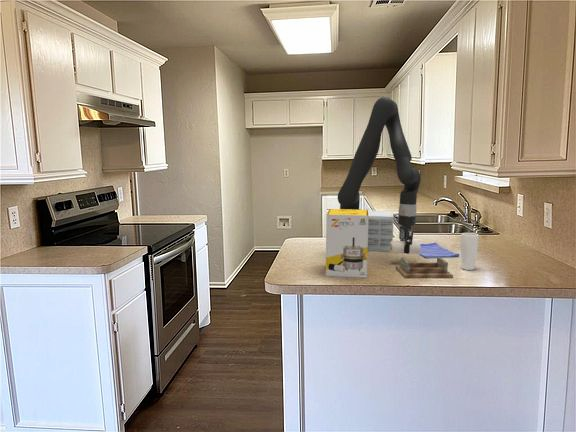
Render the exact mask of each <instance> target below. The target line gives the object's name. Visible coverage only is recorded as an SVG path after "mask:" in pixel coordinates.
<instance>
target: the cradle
mask: <svg viewBox="0 0 576 432" xmlns="http://www.w3.org/2000/svg"><path fill="white" fill-rule="evenodd" d="M448 267H449V262H448V261H446V260H445V258H441V257H437V258H436V262H410V261H409V260H408V259H407V258H406V257H404V256H401V257H400V265H395V269H396V271H397V272H399V274H400V275H401V276H402V277H403V278H404V279H453V278H454V274H452V273H451V272H450V271H448Z"/></svg>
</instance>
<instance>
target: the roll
mask: <svg viewBox="0 0 576 432" xmlns="http://www.w3.org/2000/svg"><path fill="white" fill-rule="evenodd" d="M408 242H409V240H408ZM420 244H421V242H420V241H418V240H415V241H414V240H412V245H410V251H409V254H410V255H411V254H414V255H415V254H416V255H417V254H418V255H419V253H420V248H421V247H420ZM389 253H391V254H405V253H404V241H400V240H393V241H391V242H390V252H389Z"/></svg>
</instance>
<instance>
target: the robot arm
mask: <svg viewBox="0 0 576 432" xmlns="http://www.w3.org/2000/svg"><path fill="white" fill-rule="evenodd" d="M385 127H386V129H387V132H388V136H389V137H388V138H389V145H390V149H391V153H392V155H393V158H394V161H395V164H396V165H395V166H396V168H395V169H396V173H397V178H398V180H399V182H400V183H401V184H403V189H402V190H401V192H400V194H399V203H398V205H399V206H398V213H397V214H398V215H397V224H398V225H399V226H398V227H399V235H398V237H399V239H398V240H399V241H404V253H403V254H404V255H405V254H407V255H408V254H409V251H410V245H412V241H413V239H414V238H413V237H414V231H413V230H412V226H415V225H416V221H417V219H416V218H417V198H418V196H417V195H418V192H419V188H420V184H421V177H422V176H421V172H420V170H418V169H417V168H415V167H412V164H411V161H412V159H413V158H412V157H413V156H412V153H411V151H410V147H409V145H408V142H407V140H406V138H405V134H404V131H403V128H402V127H403V126H402V124H401V119H400V112H399V107H398V104H397V103H396V101H394V100H393V99H392V98H390V97H386V96H383V97H380V98H377V100H376V101H375V102H374V104H373V107H372V109H371V114H370V117H369V120H368V123H367V126H366V128H365V130H364V132H363V135H362V137H361V140H360V142H359V144H358V146H357V148H356V151H355V154H354V156H353V159H352V161H351V164H350V167H349V170H348V174H347V176H346V178H345V180H344V182H343V184H342V186H341V187H340V189H339V191H338V193H337V201H338V203H339V209H351V210H360V201H361V200H360V199H361V198H360V197H361V196H360V190H361V189H360V188H361V186H362V183H363V182H364V179H366V176H367V175H368V173H369V172H370V170H371V169H372V167H373V165H374V162H375V161H376V159H377V156H378V153H379V151H380V146H381V138H382V133H383V131H384V128H385ZM408 241H409V242H408Z"/></svg>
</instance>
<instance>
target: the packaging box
mask: <svg viewBox="0 0 576 432" xmlns="http://www.w3.org/2000/svg"><path fill="white" fill-rule="evenodd" d="M368 211H369V210H368V209H359V210H351V209H340V208H339V209H337V208H331V209H328V211H327V213H326V216H325V217H326V220H325V221H326V224H325V226H326V227H325V229H326V230H325V231H326V233H325V277H338V278H339V277H340V278H344V277H345V278H356V279H357V278H361V279H367V278H368V252H369V251H368V218H369V215H368Z"/></svg>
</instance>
